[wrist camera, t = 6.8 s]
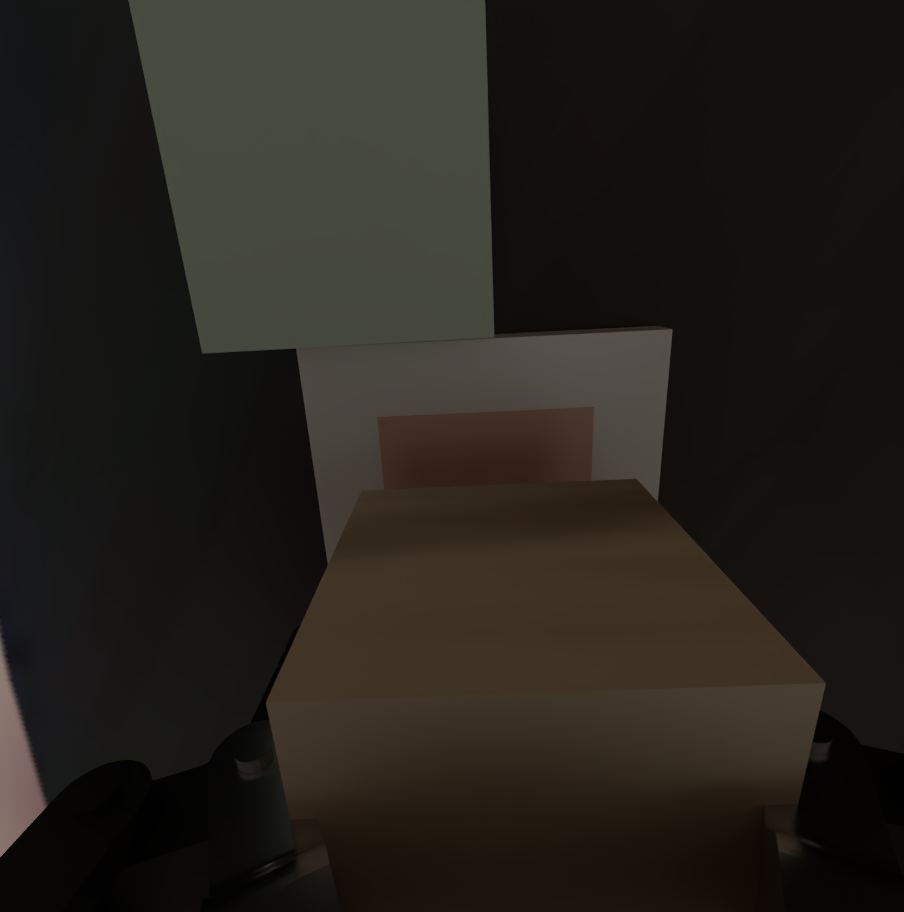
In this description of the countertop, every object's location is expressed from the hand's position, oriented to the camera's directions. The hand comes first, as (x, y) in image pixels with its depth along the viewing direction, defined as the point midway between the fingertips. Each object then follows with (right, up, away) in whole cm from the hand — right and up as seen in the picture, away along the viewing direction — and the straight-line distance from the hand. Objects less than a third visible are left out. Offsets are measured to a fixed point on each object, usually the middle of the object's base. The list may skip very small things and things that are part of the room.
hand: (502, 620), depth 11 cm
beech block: (0, 0, +1) cm, 1 cm away
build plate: (0, +2, +6) cm, 7 cm away
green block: (-3, +11, +4) cm, 12 cm away
